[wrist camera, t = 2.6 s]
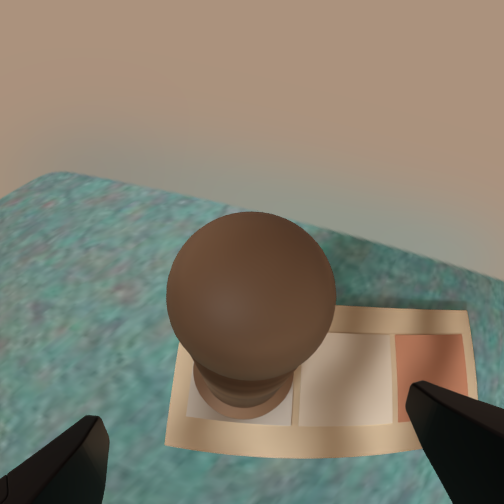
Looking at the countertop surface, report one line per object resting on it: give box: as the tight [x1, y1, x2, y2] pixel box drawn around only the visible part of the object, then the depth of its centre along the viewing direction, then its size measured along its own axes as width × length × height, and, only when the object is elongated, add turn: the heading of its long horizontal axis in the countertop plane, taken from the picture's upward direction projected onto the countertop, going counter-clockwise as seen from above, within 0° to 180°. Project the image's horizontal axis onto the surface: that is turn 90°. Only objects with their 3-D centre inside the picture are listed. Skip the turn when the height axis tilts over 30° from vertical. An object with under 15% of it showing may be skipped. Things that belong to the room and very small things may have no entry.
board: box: [165, 305, 478, 458], centre depth 19 cm, size 21×10×1 cm, turn 85°
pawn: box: [166, 212, 336, 420], centre depth 13 cm, size 6×6×13 cm
